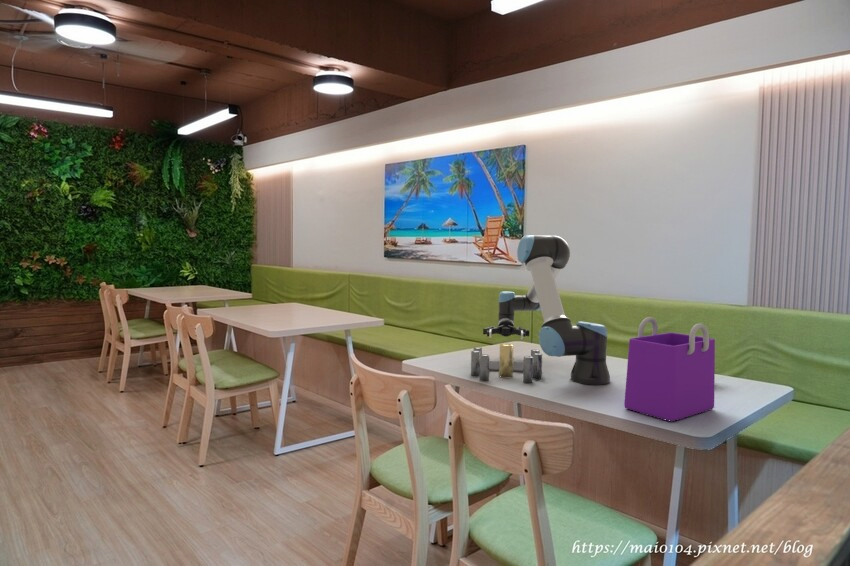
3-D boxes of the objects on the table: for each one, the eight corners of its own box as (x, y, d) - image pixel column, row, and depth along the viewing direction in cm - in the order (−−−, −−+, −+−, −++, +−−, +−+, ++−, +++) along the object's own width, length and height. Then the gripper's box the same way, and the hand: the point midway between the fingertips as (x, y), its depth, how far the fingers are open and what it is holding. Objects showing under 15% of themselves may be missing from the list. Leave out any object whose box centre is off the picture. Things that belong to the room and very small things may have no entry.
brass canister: (515, 376, 223) (516, 345, 222) (506, 378, 220) (507, 346, 219) (505, 373, 227) (505, 343, 226) (496, 375, 224) (496, 344, 223)
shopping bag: (689, 427, 163) (694, 328, 161) (619, 411, 178) (622, 320, 176) (717, 407, 183) (722, 319, 181) (652, 394, 198) (655, 313, 196)
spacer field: (540, 373, 229) (540, 349, 228) (543, 383, 212) (543, 358, 211) (472, 370, 233) (472, 347, 232) (469, 380, 216) (470, 355, 215)
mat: (523, 364, 246) (523, 362, 246) (524, 372, 230) (525, 370, 230) (488, 362, 248) (488, 360, 248) (486, 370, 233) (487, 368, 232)
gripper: (533, 336, 252) (535, 345, 231) (478, 334, 255) (476, 342, 235) (533, 320, 251) (536, 328, 230) (479, 318, 255) (477, 325, 234)
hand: (506, 335), depth 232 cm, fingers open, 13 cm apart
